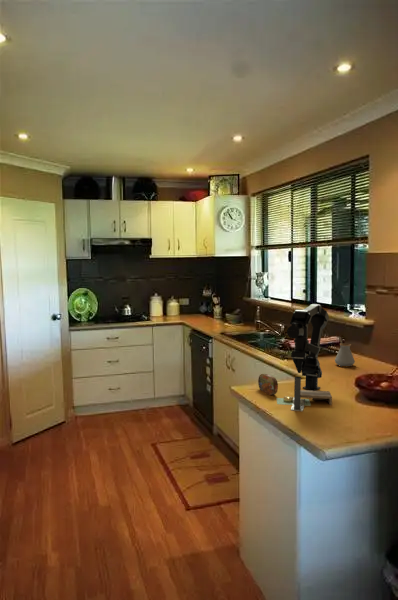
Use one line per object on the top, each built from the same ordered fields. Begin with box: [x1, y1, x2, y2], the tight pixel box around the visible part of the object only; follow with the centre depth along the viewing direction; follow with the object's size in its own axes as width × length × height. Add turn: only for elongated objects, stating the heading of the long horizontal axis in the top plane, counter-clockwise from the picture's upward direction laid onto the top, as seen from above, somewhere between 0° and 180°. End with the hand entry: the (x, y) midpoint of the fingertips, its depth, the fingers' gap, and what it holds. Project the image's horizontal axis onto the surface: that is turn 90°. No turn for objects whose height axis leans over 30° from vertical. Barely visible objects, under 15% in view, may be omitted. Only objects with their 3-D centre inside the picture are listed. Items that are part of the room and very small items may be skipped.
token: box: [283, 395, 294, 402], centre depth 207 cm, size 4×4×2 cm
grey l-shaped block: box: [290, 376, 307, 412], centre depth 200 cm, size 15×5×14 cm, turn 163°
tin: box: [257, 373, 279, 396], centre depth 220 cm, size 15×3×8 cm, turn 21°
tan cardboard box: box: [301, 389, 333, 406], centre depth 206 cm, size 8×15×4 cm, turn 82°
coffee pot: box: [334, 336, 356, 367], centre depth 279 cm, size 21×12×15 cm, turn 176°
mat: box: [276, 397, 312, 407], centre depth 206 cm, size 9×14×1 cm, turn 82°
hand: (300, 371), depth 210 cm, fingers open, 9 cm apart
